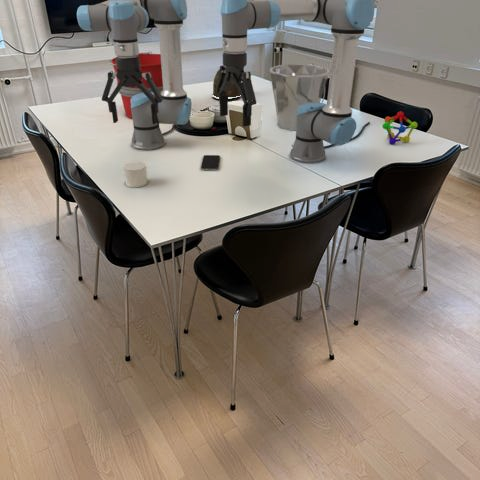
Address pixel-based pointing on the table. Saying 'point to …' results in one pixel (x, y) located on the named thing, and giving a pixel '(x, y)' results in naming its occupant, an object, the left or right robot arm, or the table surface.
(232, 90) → the bell
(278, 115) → the bucket
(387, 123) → the educational toy
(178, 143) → the table surface
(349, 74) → the right robot arm
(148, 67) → the bucket
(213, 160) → the smartphone
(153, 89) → the left robot arm
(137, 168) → the canister
